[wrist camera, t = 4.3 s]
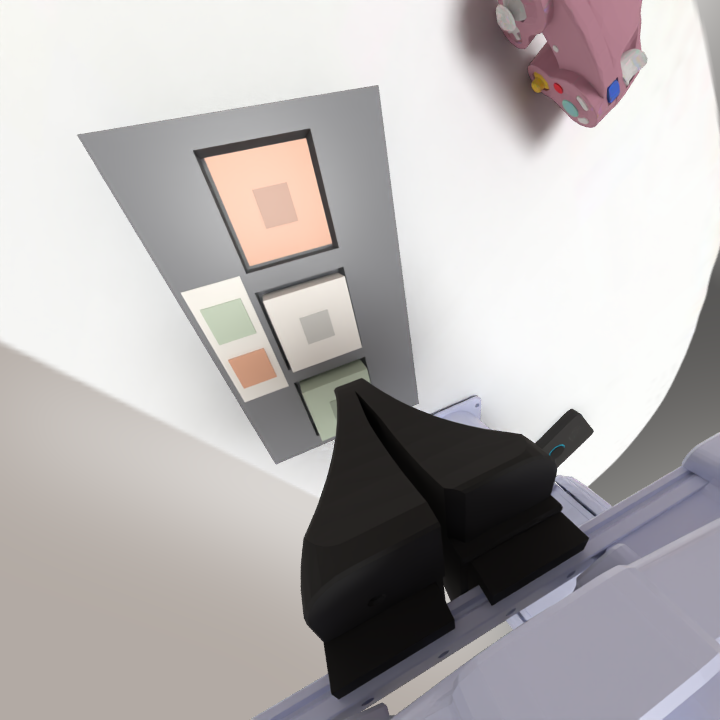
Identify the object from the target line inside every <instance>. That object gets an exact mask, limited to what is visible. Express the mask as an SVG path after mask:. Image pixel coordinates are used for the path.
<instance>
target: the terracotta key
mask: <svg viewBox="0 0 720 720" xmlns="http://www.w3.org/2000/svg"><path fill="white" fill-rule="evenodd" d="M204 159H205V161H206V164H207V166H208V168H209V171H210V173H211V176H212V178H213V180H214V183H215V185H216V187H217V190H218V192H219V194H220V197H221V199H222V202H223V204H224V206H225V209H226V211H227V213H228V216H229V218H230V221H231V223H232V225H233V228H234V230H235V232H236V235H237V237H238V240H239V242H240V244H241V247H242V249H243V251H244V254H245V256H246V259H247V261H248V263H249V266H253V265H256V264H260V263H264V262H267V261H271V260H274V259H278V258H282V257H285V256H289V255H292V254H296V253H300V252H303V251H307V250H310V249H314V248H318V247H321V246H325V245H328V244H332V240H331V236H330V232H329V228H328V224H327V220H326V216H325V212H324V208H323V204H322V200H321V196H320V192H319V188H318V184H317V180H316V176H315V172H314V168H313V164H312V160H311V156H310V152H309V148H308V144H307V140H306V138H304V139H299V140H294V141H289V142H284V143H279V144H273V145H268V146H263V147H258V148H253V149H248V150H243V151H238V152H233V153H227V154H222V155H217V156H212V157H207V158H204Z"/></svg>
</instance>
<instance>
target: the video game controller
mask: <svg viewBox="0 0 720 720" xmlns="http://www.w3.org/2000/svg"><path fill="white" fill-rule="evenodd" d="M498 3H499V5H498V6H497V8H496V17H497V22H498V24H499V26H500V28H501V30H502V31H503V33H504V35H505V36H506V38H507V39H508V40H509V41H510V42H511V43H512V44H513V45H514V46H516V47H517V48H519V49H525V48H527V47H528V45H529V44H530V43H531V41H532V40H533V39H534V37H535V36H536V34H540V33H543V35H544V36H545V38H546V40H547V42H546V44H545V45H544V46H543V48H542V49H541V50H540V51H539V53H538V54H537V55H536V57H535V58H534V59H533V61H532V62H531V63H530V65H529V66H528V74H529V76H530V79H531V80H532V84H531V86H532V89H533V90H534V91H535V92H537V93H540V92H542V93H543V94H545V95H546V96H548V97H550V98H551V99H553V100H554V101H555V102H556V103H557V104H558V105H559V106H560V107H561V108H562V110H563V111H564V112H565V113H566V114H567V115H568V116H569V117H570V118H571V119H572V120H574V121H575V122H577V123H578V124H580V125H582V126H585V127H589V128H593V127H595V126H596V125H597V124H598V123H599V122H600V121H601V120H602V119H603V118H604V117H605V116H606V115H607V114H608V113H609V111H610V110H611V109H612V108H613V107H615V106H616V105H617V103H618V102H619V101H620V100H621V99H622V97H623V96H624V95H625V93H626V92H627V90H628V89H629V87H630V85H631V84H632V82H633V81H634V79H635V78H636V76H637V75H638V73H639V71H640V69H641V68H643V67H644V66H645V64H646V63H647V57H646V55H645V53H644V52H643V51H641V43H640V31H641V14H640V13H641V4H642V0H498Z"/></svg>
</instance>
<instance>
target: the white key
mask: <svg viewBox="0 0 720 720" xmlns="http://www.w3.org/2000/svg"><path fill="white" fill-rule="evenodd" d="M263 303H264V305H265V308H266V310H267V312H268V315H269V317H270V319H271V322H272V324H273V326H274V329H275V331H276V334H277V336H278V338H279V341H280V343H281V345H282V348H283V350H284V352H285V355H286V357H287V359H288V362H289V364H290V366H291V369H292V371H293V372H296V371H299V370H302V369H304V368H307V367H310V366H313V365H315V364H318V363H321V362H324V361H326V360H329V359H332V358H335V357H337V356H340V355H343V354H345V353H348V352H351V351H354V350H356V349H359V348H362V346H361V341H360V337H359V333H358V329H357V325H356V321H355V317H354V312H353V308H352V304H351V300H350V296H349V292H348V288H347V283H346V279H345V276H343V275H341V274H340V273H338V272H337V273H334V274H330V275H327V276H324V277H321V278H317V279H314V280H311V281H307V282H304V283H301V284H297V285H294V286H291V287H287V288H284V289H281V290H277V291H274V292H271V293H267V294H264V295H263Z"/></svg>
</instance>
